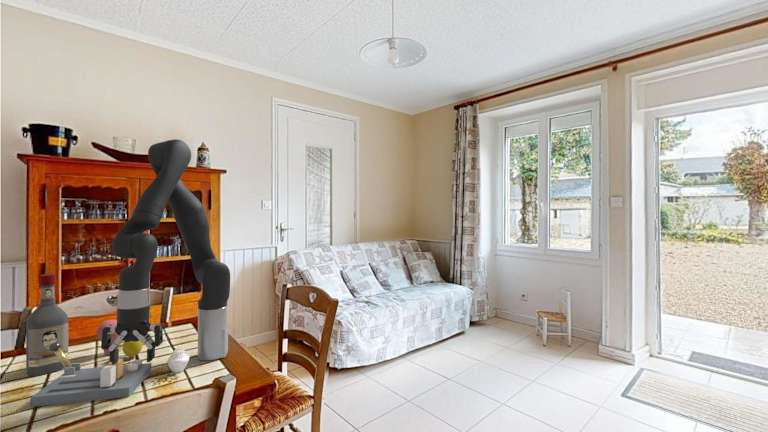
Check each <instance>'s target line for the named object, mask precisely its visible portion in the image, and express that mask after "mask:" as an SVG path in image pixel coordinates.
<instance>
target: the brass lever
mask: <svg viewBox="0 0 768 432" xmlns="http://www.w3.org/2000/svg"><path fill="white" fill-rule="evenodd" d="M49 350H50V351H52V352H54V353H55V354H56V356H57V357H58V358H59V360H60V361H61V363H62V364H63V366H64V367H65V368H67V367H73V365H72V364H71V363H72V362H70V359H69V357H68V358H67V357H66V355H65V354H64V352H63V351H62V350H61V344H60V343H58V342H55V343H52V344H51V345H50V346H49Z"/></svg>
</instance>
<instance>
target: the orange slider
mask: <svg viewBox="0 0 768 432" xmlns="http://www.w3.org/2000/svg"><path fill="white" fill-rule="evenodd" d="M115 365H116V379H119V378H120V377H121V376H122V375H123V365H124V358H118V362H117V363H116V364H112V362H110V361H109V363H108V366H115Z"/></svg>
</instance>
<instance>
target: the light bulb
mask: <svg viewBox="0 0 768 432" xmlns="http://www.w3.org/2000/svg"><path fill="white" fill-rule="evenodd" d="M108 325H112V326H117V319H108V320H107V319H106V320H105V321H103V322H100V324H99V325H98V327H97V328H96V336H97V338H98V340H99V341H100V343H102V332H103V328H105V327H106V326H108ZM118 337H119V335H118V334H117V333H116V332H115V331H114V333H112V336H111V343H112V344H113V342H114V341H115V340H116V339H117V338H118ZM103 355H110V351H109V350H107V349H103Z"/></svg>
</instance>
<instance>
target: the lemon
mask: <svg viewBox="0 0 768 432" xmlns="http://www.w3.org/2000/svg"><path fill="white" fill-rule="evenodd" d="M142 350H143V344H142V342H141V341H140V340H139V341H136V342H134V341H129V342H125V341H123V342H122V352H123V354H124V355H125V356H126V357H130V358H134V357H135V356H137V355H139V354H140V352H141V351H142Z"/></svg>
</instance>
